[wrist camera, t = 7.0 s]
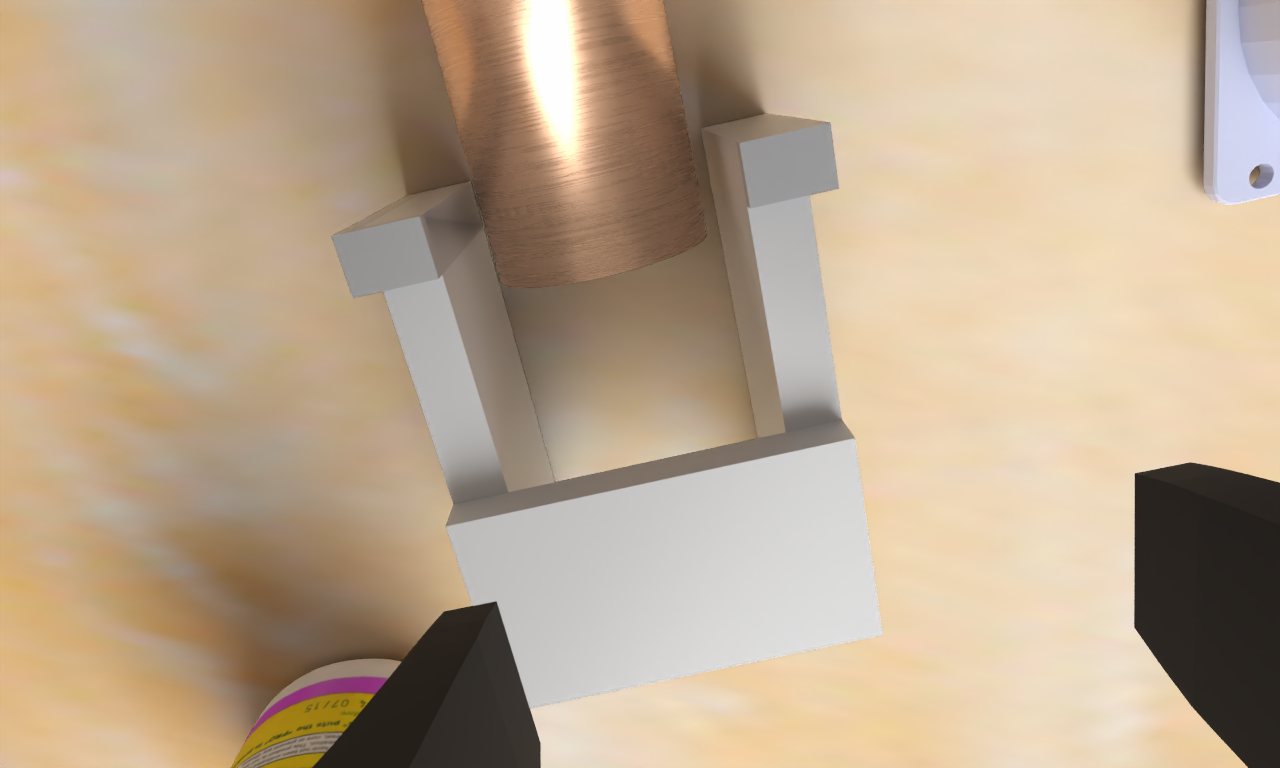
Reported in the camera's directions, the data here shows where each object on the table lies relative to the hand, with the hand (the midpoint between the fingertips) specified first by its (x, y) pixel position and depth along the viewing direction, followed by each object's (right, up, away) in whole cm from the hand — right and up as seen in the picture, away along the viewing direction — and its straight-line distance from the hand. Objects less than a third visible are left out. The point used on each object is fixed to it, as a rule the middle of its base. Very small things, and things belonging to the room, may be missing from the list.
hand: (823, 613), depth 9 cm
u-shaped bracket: (-2, +3, +10) cm, 10 cm away
